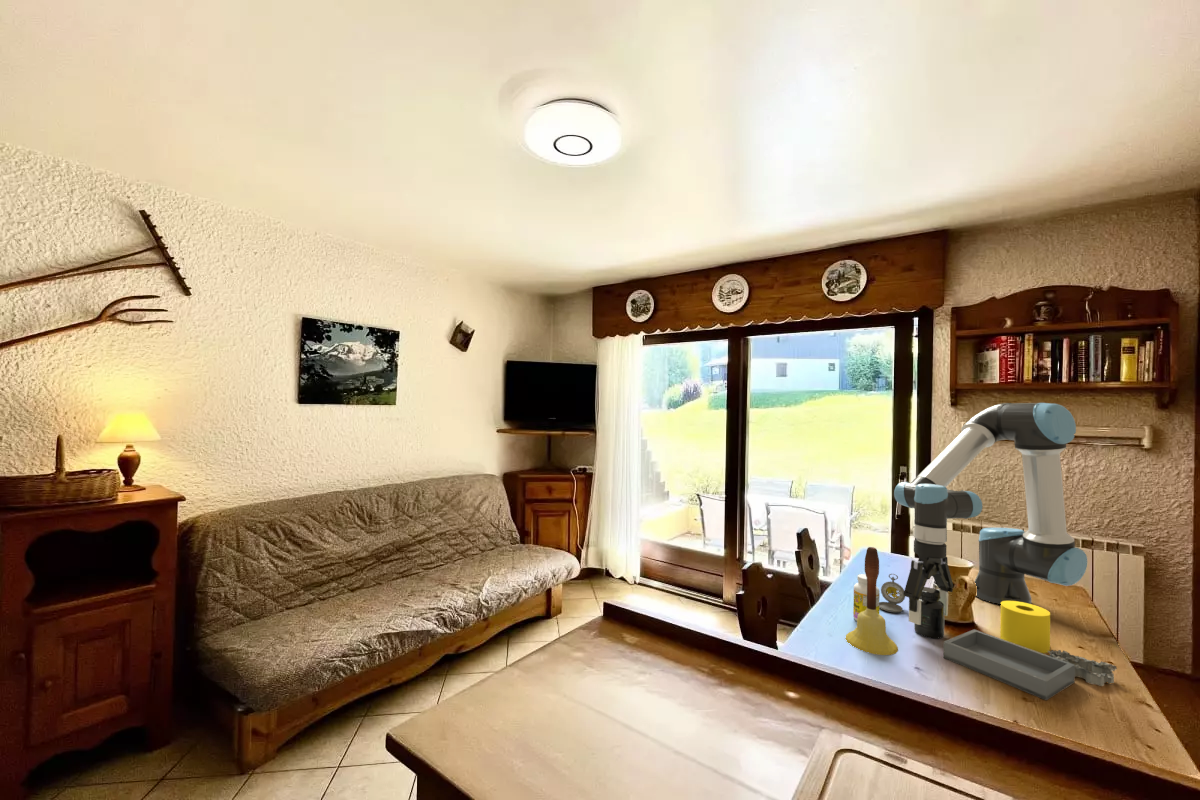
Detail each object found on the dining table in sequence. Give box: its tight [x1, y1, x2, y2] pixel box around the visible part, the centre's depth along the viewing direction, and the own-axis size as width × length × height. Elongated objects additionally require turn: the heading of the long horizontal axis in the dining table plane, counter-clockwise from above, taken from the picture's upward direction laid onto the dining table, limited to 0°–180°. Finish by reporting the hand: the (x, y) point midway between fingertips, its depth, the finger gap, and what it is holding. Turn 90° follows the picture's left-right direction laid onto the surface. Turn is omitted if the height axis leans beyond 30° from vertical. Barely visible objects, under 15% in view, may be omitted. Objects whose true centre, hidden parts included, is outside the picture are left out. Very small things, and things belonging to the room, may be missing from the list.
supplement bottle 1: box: [852, 573, 881, 622], centre depth 143 cm, size 7×7×13 cm
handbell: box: [844, 546, 899, 656], centre depth 130 cm, size 12×12×25 cm
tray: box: [942, 628, 1076, 701], centre depth 118 cm, size 15×20×4 cm
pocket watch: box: [879, 573, 906, 614], centre depth 153 cm, size 8×8×10 cm
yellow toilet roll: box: [999, 601, 1051, 654], centre depth 131 cm, size 10×10×9 cm
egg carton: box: [1048, 649, 1118, 687], centre depth 117 cm, size 11×8×4 cm
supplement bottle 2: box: [913, 586, 945, 640], centre depth 136 cm, size 7×7×12 cm
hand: (928, 618), depth 136 cm, fingers open, 13 cm apart
